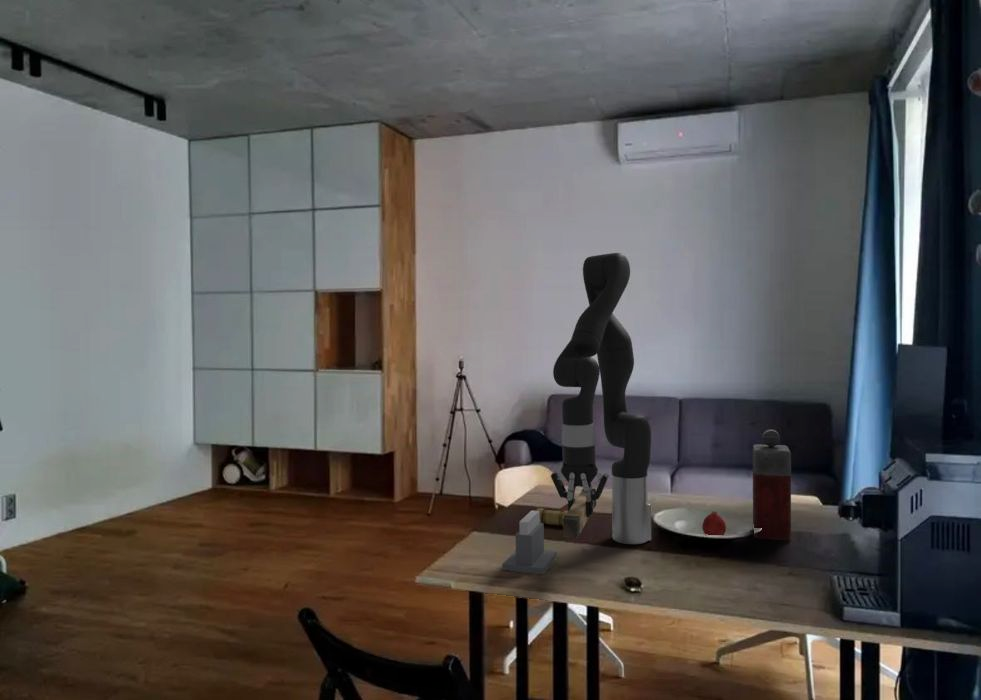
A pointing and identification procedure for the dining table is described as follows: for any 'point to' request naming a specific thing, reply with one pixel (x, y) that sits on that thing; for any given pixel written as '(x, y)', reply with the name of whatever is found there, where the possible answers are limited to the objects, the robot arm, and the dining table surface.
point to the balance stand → (530, 548)
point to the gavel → (553, 515)
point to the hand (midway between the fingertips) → (580, 515)
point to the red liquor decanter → (772, 488)
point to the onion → (714, 524)
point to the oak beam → (576, 516)
